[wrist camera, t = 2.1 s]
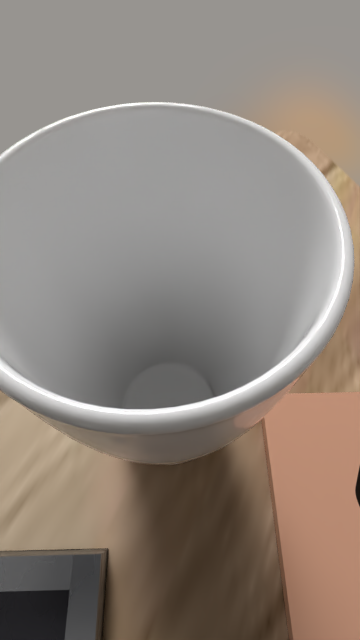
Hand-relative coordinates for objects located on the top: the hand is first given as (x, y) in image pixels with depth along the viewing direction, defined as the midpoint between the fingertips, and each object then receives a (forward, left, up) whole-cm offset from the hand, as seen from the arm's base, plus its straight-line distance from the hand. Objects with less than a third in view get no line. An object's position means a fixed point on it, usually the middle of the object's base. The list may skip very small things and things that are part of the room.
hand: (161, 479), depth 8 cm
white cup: (+4, 0, -11) cm, 12 cm away
